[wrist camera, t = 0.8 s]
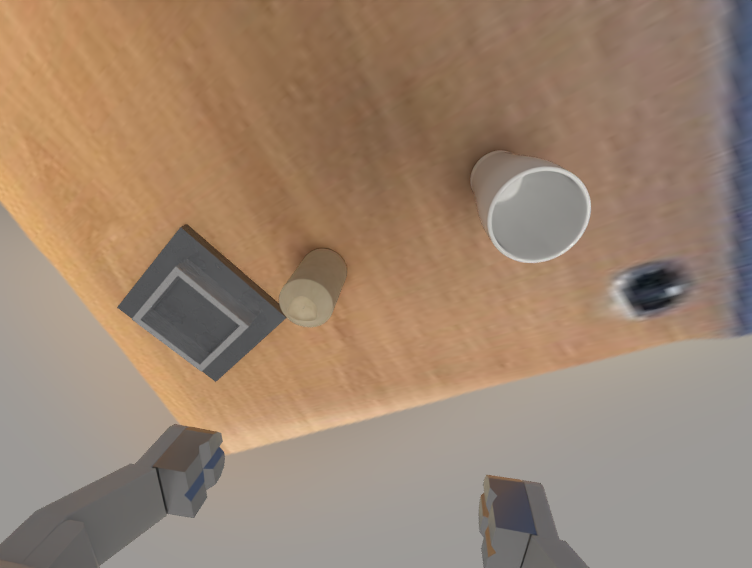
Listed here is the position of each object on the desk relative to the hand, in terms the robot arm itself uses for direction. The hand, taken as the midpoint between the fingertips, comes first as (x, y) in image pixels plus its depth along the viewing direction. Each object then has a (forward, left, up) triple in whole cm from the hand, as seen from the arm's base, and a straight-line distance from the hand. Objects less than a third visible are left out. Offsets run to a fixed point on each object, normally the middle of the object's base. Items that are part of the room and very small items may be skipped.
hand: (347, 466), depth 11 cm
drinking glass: (+5, +9, -33) cm, 34 cm away
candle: (0, -12, -33) cm, 35 cm away
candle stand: (-7, -28, -33) cm, 43 cm away
